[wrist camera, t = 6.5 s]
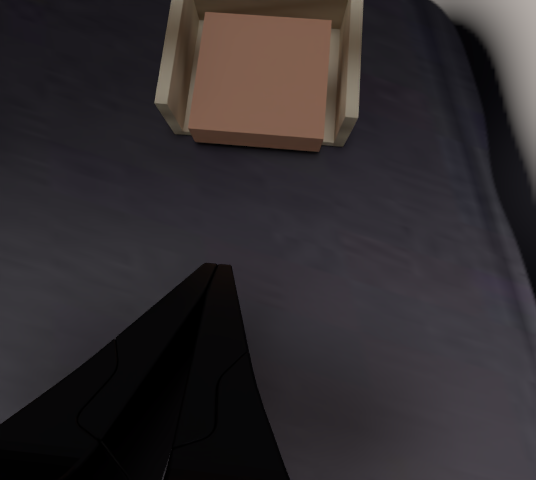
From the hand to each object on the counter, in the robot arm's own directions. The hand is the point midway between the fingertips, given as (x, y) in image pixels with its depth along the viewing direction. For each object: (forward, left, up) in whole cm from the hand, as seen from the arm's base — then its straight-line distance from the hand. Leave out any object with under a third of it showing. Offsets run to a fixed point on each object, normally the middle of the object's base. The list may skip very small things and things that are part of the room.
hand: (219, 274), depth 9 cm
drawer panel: (+3, -8, -7) cm, 11 cm away
